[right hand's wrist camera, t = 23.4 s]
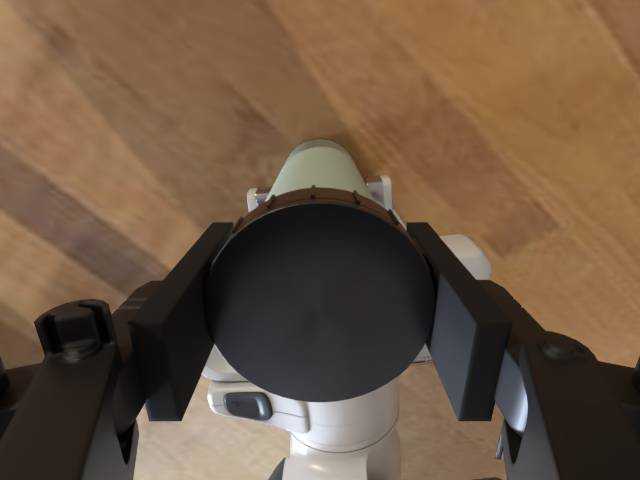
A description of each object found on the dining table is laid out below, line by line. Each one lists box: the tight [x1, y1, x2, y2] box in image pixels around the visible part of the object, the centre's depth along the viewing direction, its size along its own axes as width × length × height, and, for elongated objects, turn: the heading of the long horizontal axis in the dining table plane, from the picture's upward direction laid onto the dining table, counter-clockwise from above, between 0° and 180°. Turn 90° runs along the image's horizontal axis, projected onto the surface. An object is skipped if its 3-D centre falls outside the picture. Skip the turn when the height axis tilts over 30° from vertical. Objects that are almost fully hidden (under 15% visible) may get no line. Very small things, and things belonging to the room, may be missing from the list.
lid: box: [204, 185, 436, 402], centre depth 11 cm, size 7×7×2 cm
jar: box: [265, 139, 375, 202], centre depth 20 cm, size 6×6×18 cm
